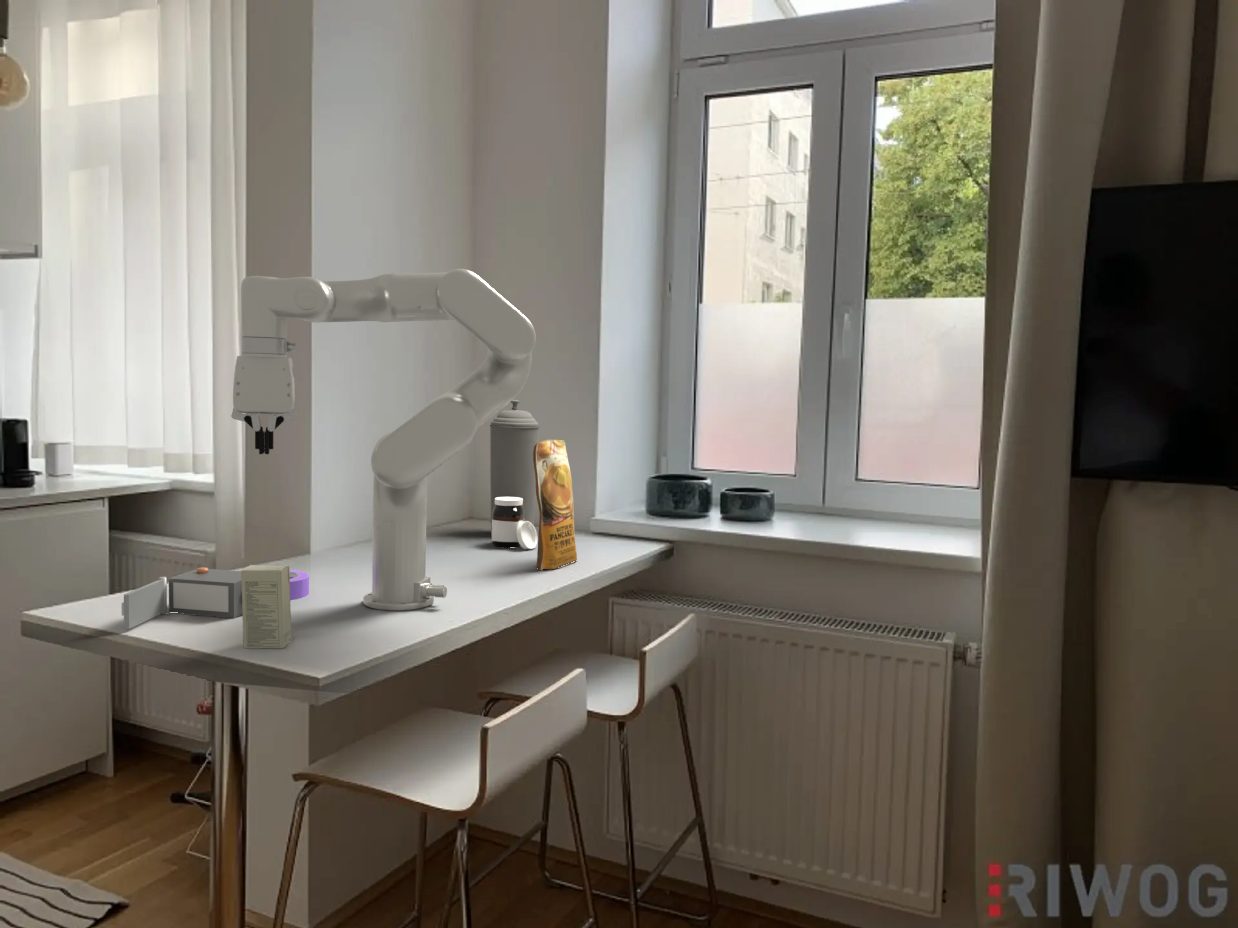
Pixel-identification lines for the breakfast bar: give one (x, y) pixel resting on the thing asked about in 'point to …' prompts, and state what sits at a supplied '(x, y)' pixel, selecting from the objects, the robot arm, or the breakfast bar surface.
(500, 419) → the canister
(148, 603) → the side door
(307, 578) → the masking tape
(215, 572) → the toy microwave oven
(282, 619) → the skincare box
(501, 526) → the spread jar
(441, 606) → the breakfast bar surface
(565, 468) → the pancake mix bag
